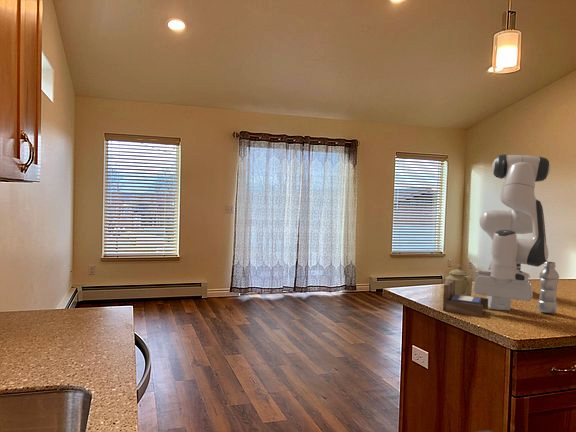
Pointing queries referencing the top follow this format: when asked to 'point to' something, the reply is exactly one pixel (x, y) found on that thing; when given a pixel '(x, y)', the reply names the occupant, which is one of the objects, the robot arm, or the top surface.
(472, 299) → the navy carton
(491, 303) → the milk carton
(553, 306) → the plastic bottle
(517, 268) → the robot arm
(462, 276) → the sugar bowl
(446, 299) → the stand
